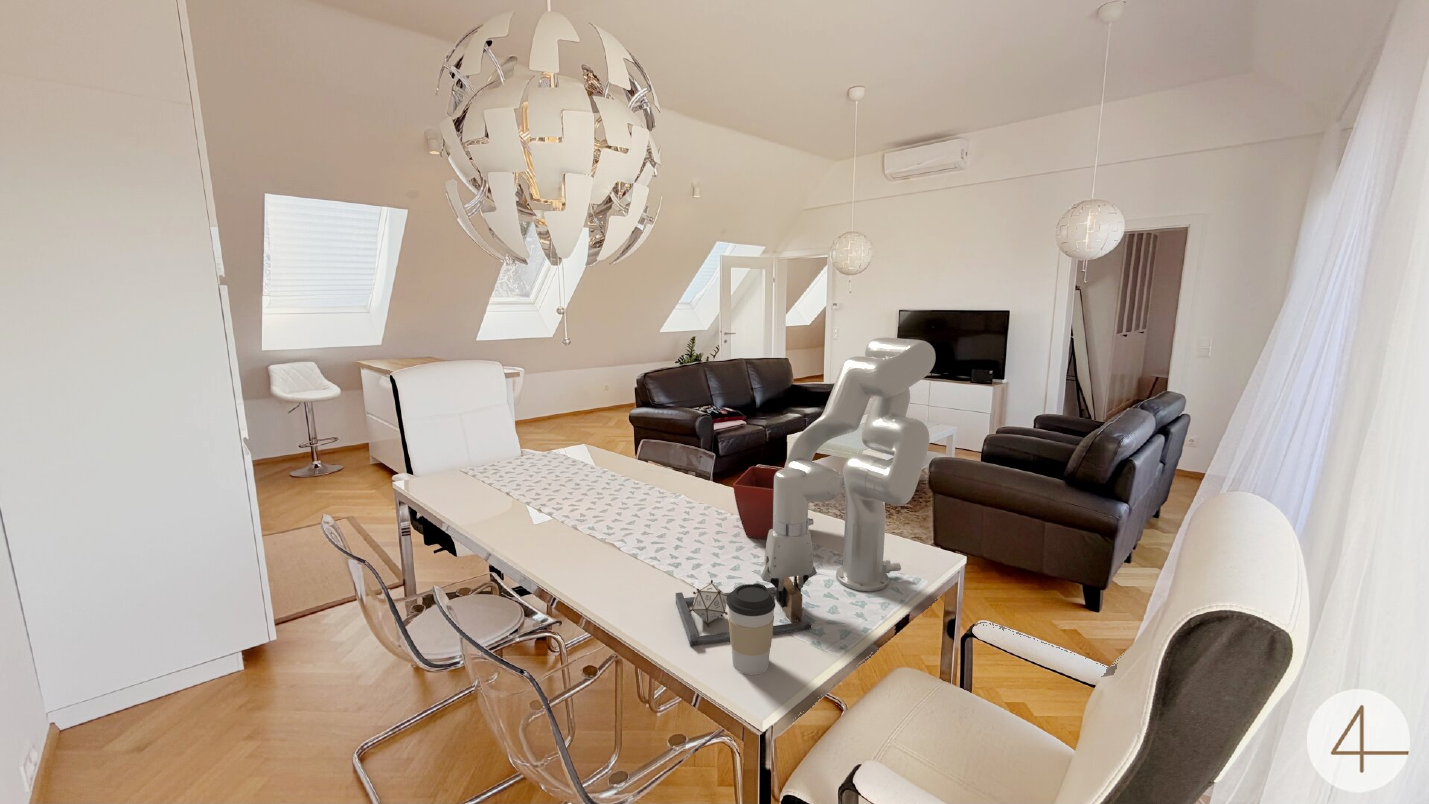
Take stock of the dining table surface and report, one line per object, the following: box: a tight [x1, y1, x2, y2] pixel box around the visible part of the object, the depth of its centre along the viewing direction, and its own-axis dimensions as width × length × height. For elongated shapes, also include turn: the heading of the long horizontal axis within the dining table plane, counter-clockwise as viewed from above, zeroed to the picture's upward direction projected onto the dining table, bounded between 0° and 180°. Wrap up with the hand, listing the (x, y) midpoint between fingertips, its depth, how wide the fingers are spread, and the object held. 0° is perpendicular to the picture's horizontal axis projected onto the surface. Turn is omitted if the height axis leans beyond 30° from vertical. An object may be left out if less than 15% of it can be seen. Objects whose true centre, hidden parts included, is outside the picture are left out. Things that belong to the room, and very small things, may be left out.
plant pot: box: [732, 465, 782, 541], centre depth 171 cm, size 19×19×17 cm
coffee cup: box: [726, 582, 776, 676], centre depth 109 cm, size 9×9×15 cm
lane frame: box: [675, 577, 812, 647], centre depth 126 cm, size 26×17×6 cm, turn 104°
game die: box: [688, 579, 729, 628], centre depth 125 cm, size 9×8×10 cm
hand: (788, 602), depth 129 cm, fingers closed on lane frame, 2 cm apart
